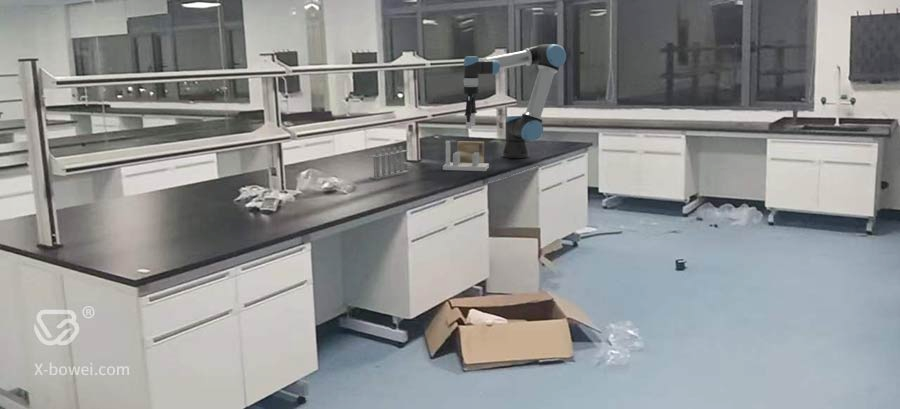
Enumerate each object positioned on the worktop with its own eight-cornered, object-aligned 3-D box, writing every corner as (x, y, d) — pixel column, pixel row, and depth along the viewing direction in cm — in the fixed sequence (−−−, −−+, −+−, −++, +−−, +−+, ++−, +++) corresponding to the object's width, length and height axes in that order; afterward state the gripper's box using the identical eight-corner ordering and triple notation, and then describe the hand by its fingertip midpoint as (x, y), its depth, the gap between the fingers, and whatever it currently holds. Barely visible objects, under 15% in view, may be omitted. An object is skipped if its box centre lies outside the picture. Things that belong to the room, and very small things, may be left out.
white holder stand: (447, 166, 398) (447, 139, 395) (488, 167, 395) (489, 140, 392) (442, 169, 387) (442, 142, 384) (485, 171, 383) (485, 143, 380)
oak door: (458, 163, 408) (458, 141, 405) (483, 164, 405) (484, 141, 403) (456, 164, 404) (457, 142, 402) (482, 165, 402) (483, 142, 399)
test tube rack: (376, 179, 361) (375, 152, 358) (369, 178, 363) (368, 151, 360) (408, 172, 381) (408, 146, 378) (401, 171, 383) (401, 145, 380)
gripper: (467, 84, 409) (467, 124, 414) (459, 87, 385) (459, 129, 390) (481, 85, 408) (480, 124, 412) (474, 87, 384) (474, 129, 388)
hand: (470, 126), depth 401 cm, fingers open, 13 cm apart
